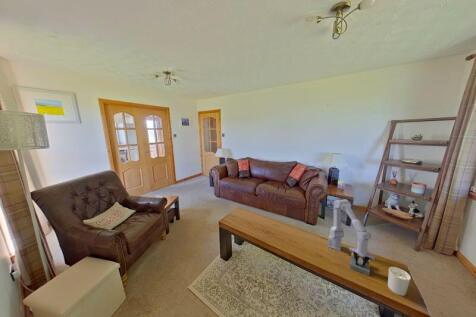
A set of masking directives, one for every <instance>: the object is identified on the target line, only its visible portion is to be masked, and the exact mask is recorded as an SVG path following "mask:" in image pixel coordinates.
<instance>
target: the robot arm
mask: <svg viewBox="0 0 476 317" xmlns="http://www.w3.org/2000/svg"><path fill="white" fill-rule="evenodd" d="M351 206H352V204H351V203H350V201H349V200H348V199H337V200H334V201H333V226H331V227H330V231H329V235H328V239H327V240H328V241H327V247H329V248H331V249H334V250H336V251H337V250H338V251H339V252H341V249H342V245H341V244H342V239H343V237H344V236H345V232H344V228H342V211H344V212H345V213H346V214H347V215H348V217H349V219H350V220H351V224H352V226H353V228H354V229H355V231H356V237H357V247H355V248H354V247H349V250H348V251H349V252H353V254H354V257H355V260H356V263H357V255H358V254H359V255H360V256H365V258H364V266H365V264H366V263H367V262H368V261H369V258H370V259H372V260H374V261H375V255H373V254H371V253H370V252H367V251H368V246H369V245H368V244H369V240H370V239H371V238H372V234H371V232H370V231H369V230H367V228H365V226H364V225H363V223H362V222H361V221H360V219H357V216H356V215H355V213H354V211H353V209H352V207H351Z"/></svg>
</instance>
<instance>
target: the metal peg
mask: <svg viewBox="0 0 476 317" xmlns="http://www.w3.org/2000/svg"><path fill="white" fill-rule="evenodd" d="M356 265H357V266H360V267H362V268H363V265H364V256H360V255H358V256H357V264H356Z"/></svg>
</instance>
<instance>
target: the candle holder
mask: <svg viewBox="0 0 476 317" xmlns="http://www.w3.org/2000/svg"><path fill="white" fill-rule="evenodd" d="M387 278H388V279H387V288H388V289H389V290H390V291H391V292H392V293H394V294H396V295H398V296H401V297H402V296H403V297H404V296H406V295H407V292H408V289H409V285H410V283H411V282H410V281H411V280H412V279H411V278H412V277H411V275H410V273H408V272H406V271H405V270H403V269H402V268H399V267H397V266H390V267H388V276H387Z"/></svg>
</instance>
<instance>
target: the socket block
mask: <svg viewBox="0 0 476 317" xmlns="http://www.w3.org/2000/svg"><path fill="white" fill-rule="evenodd" d="M358 255H359V254H358ZM358 255H357V256H358ZM364 258H365V256H364ZM370 259H371V258H369V261H368V262H367V263H366V264H365V266H364V265H363V268H362V267H360V266H357V265H356V264H357V263H356V260H355V257H354V254H353V251H351V255H350V266H349V269H351V270H353V271H356V272H359V273H361V274H364V275H366V276H368V277H370V274H371V273H370V272H371V271H370V269H371V268H370V262H371V260H370Z"/></svg>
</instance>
